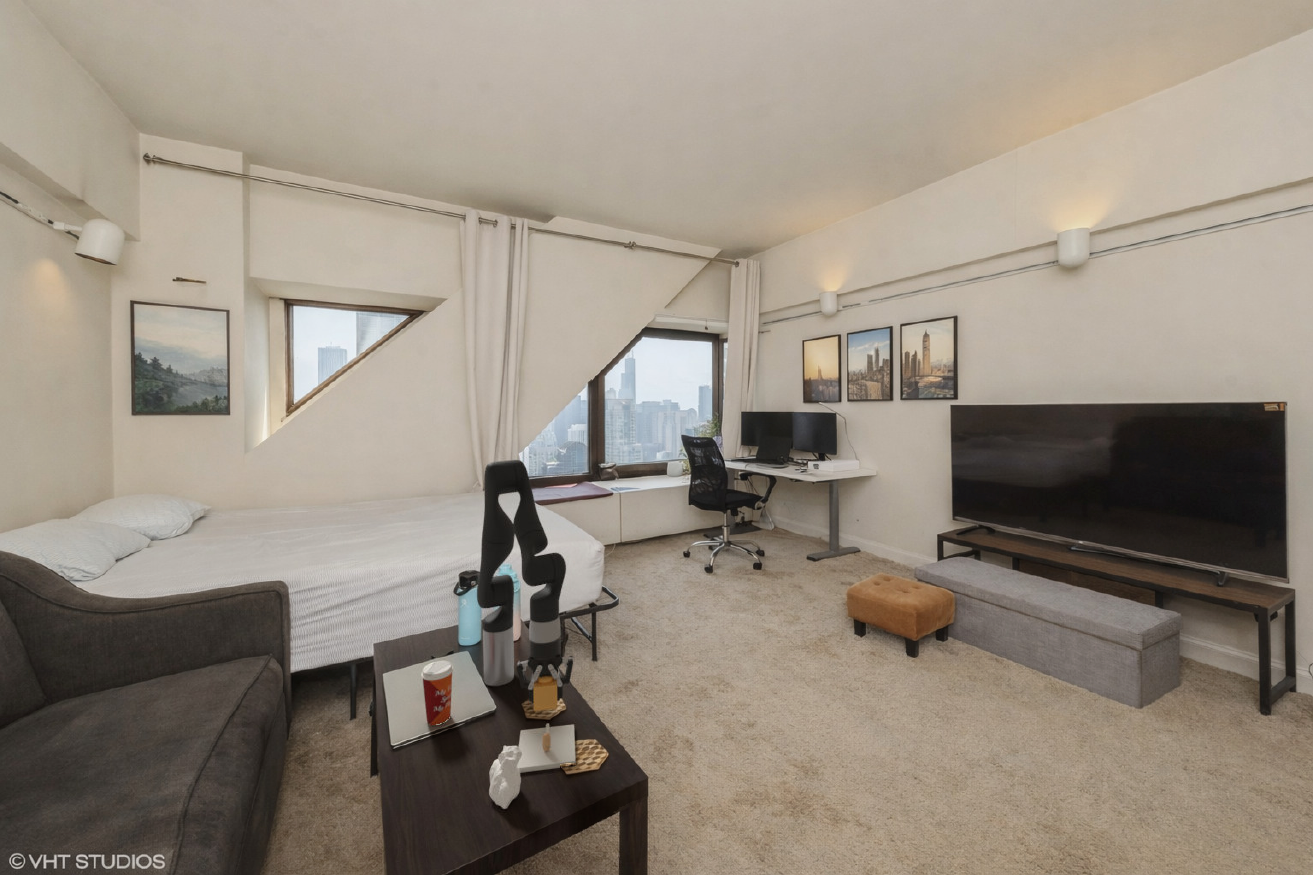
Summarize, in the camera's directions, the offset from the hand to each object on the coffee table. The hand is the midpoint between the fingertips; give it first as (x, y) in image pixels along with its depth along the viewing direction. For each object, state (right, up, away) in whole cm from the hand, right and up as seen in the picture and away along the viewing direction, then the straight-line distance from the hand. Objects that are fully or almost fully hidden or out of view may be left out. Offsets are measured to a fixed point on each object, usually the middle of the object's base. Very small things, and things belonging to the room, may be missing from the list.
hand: (545, 700), depth 124 cm
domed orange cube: (0, -1, 0) cm, 1 cm away
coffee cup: (-33, -13, +15) cm, 39 cm away
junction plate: (0, -14, +3) cm, 15 cm away
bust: (-6, -15, -11) cm, 20 cm away
